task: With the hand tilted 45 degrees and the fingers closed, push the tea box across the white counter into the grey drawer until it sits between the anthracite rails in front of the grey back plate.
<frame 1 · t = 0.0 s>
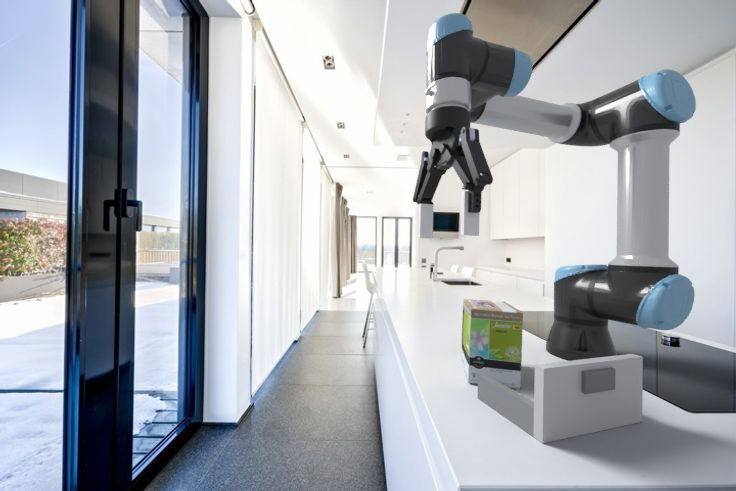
hand: (444, 237, 53), 28 cm above the counter, tool pointing down, fingers open, 13 cm apart
tea box: (487, 373, 67), on the counter
grey drawer: (553, 408, 52), on the counter
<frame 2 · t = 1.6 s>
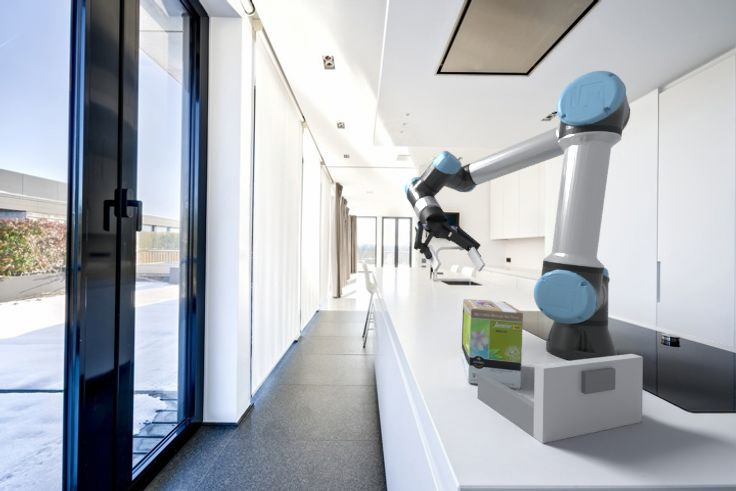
hand: (460, 267, 80), 22 cm above the counter, tool tilted 45°, fingers open, 13 cm apart
nothing on the counter moved.
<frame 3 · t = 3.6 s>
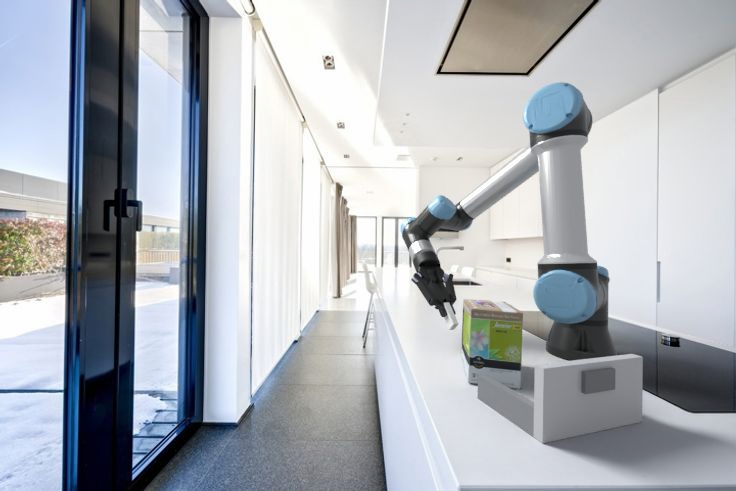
hand: (453, 326, 79), 7 cm above the counter, tool tilted 45°, fingers closed
nothing on the counter moved.
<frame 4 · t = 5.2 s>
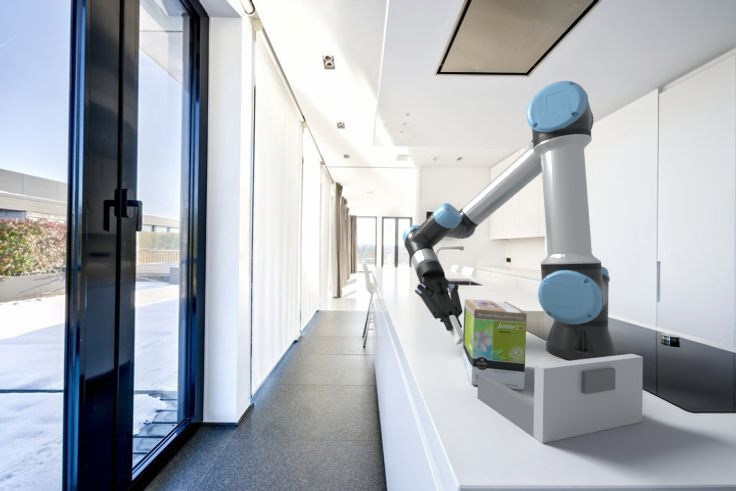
hand: (460, 341, 76), 4 cm above the counter, tool tilted 45°, fingers closed
tea box: (490, 374, 66), on the counter, touching gripper
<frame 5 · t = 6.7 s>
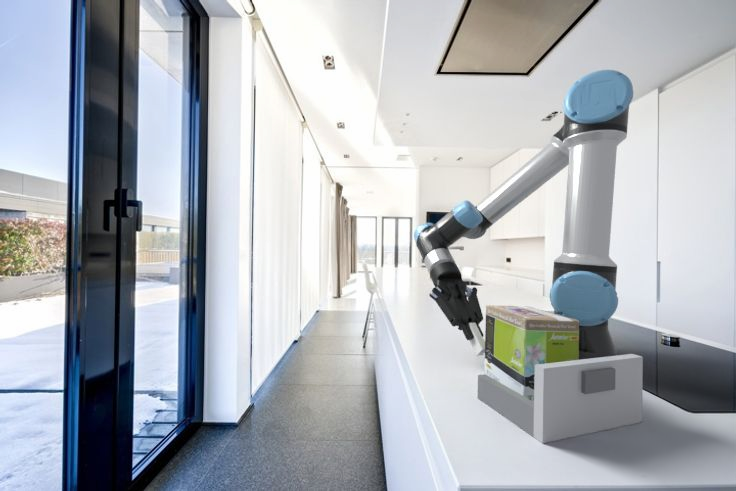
hand: (482, 352, 68), 4 cm above the counter, tool tilted 45°, fingers closed
tea box: (525, 390, 59), on the counter, touching gripper
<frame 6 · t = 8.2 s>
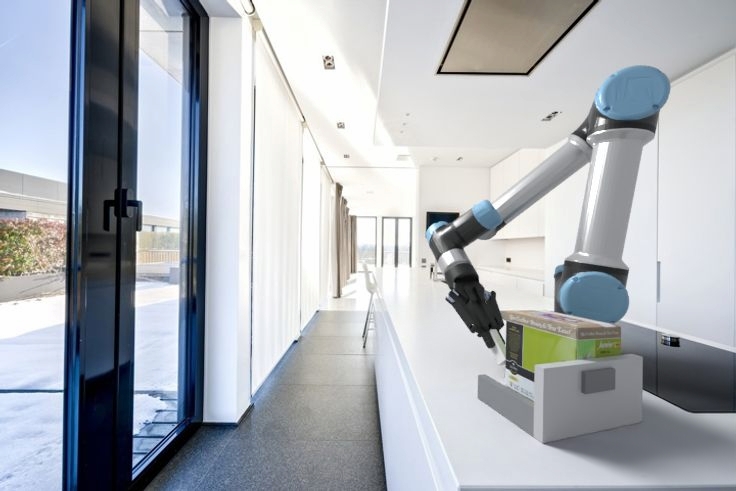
hand: (505, 361, 62), 4 cm above the counter, tool tilted 45°, fingers closed
tea box: (556, 401, 55), on the counter, touching grey drawer, gripper
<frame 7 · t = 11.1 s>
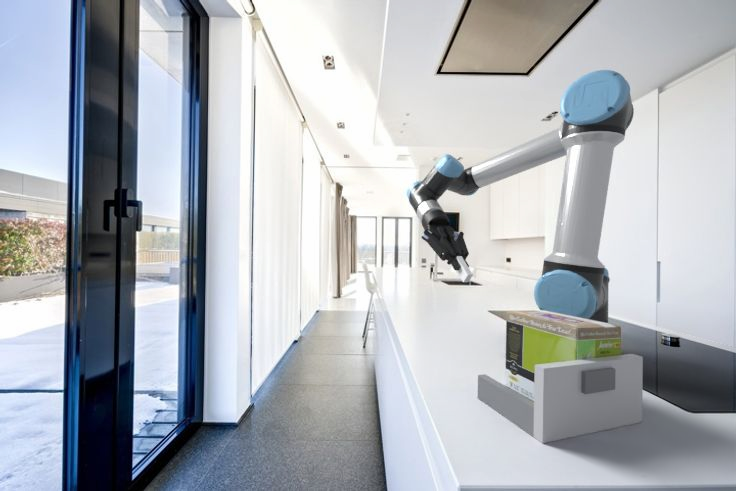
hand: (468, 278, 77), 19 cm above the counter, tool tilted 45°, fingers closed
tea box: (557, 402, 55), on the counter
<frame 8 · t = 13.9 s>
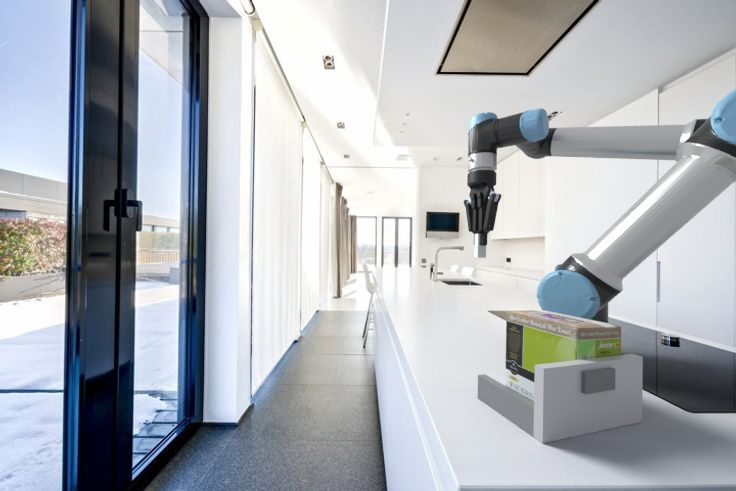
hand: (480, 257, 86), 24 cm above the counter, tool pointing down, fingers closed
nothing on the counter moved.
at the end: tea box inside the target area (3.5 cm from its centre), on the counter; tea box tilted 0°; tea box moved 14.3 cm from its start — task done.
